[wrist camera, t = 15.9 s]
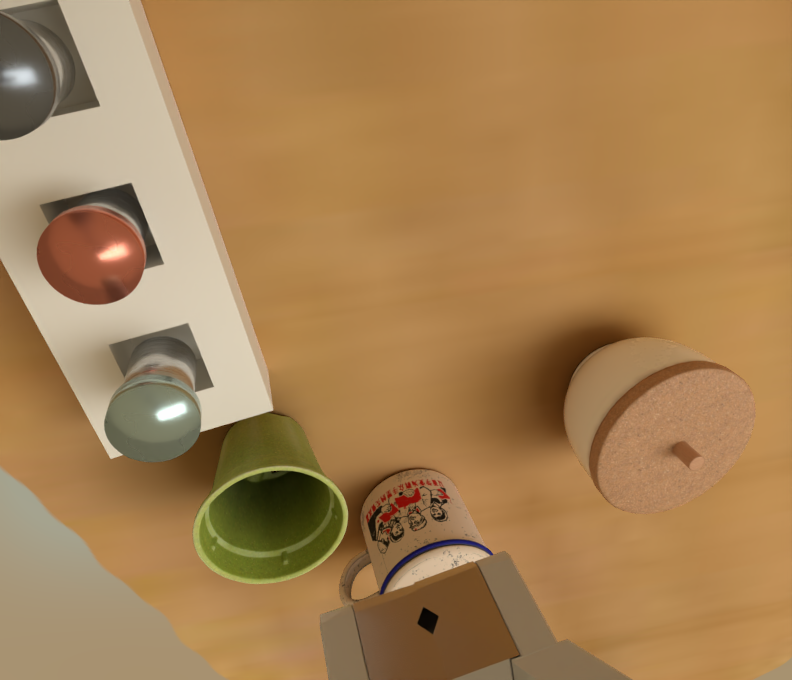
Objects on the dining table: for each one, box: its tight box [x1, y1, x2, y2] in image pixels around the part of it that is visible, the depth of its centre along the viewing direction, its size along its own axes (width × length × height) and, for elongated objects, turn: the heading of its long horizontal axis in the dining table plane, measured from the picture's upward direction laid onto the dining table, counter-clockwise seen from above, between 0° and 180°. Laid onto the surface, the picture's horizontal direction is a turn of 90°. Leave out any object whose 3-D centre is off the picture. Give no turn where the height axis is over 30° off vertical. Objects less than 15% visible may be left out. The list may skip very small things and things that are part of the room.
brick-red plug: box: [37, 188, 148, 305], centre depth 30 cm, size 4×4×6 cm
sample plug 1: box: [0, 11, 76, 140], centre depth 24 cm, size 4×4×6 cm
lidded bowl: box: [564, 337, 755, 514], centre depth 46 cm, size 13×13×11 cm
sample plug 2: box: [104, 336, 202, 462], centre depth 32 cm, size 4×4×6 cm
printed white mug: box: [339, 469, 493, 606], centre depth 46 cm, size 12×9×12 cm
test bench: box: [0, 0, 273, 459], centre depth 33 cm, size 26×10×5 cm, turn 11°
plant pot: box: [193, 412, 348, 584], centre depth 41 cm, size 9×9×9 cm
